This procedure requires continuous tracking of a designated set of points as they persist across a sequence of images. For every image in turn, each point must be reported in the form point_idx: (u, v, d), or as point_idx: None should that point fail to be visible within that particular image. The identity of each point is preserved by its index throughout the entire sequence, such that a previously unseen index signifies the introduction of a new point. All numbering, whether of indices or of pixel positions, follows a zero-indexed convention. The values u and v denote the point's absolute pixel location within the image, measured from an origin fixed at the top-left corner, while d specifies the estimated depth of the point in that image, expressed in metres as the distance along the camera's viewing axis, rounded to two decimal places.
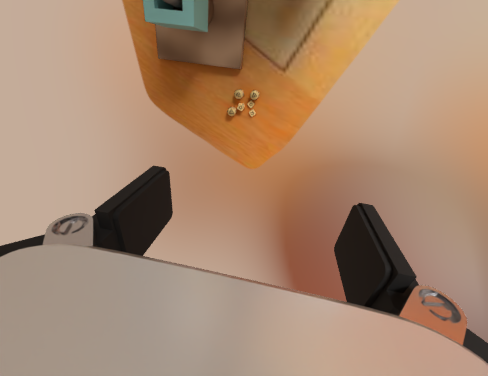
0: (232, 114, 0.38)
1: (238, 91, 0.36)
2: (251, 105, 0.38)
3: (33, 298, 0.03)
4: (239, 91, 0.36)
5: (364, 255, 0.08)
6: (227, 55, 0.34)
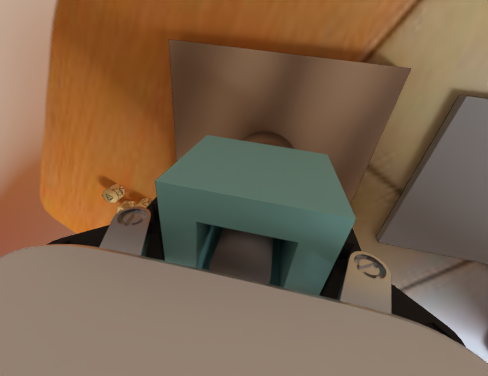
0: (106, 198, 0.21)
1: None
2: None
3: (33, 298, 0.03)
4: None
5: None
6: None
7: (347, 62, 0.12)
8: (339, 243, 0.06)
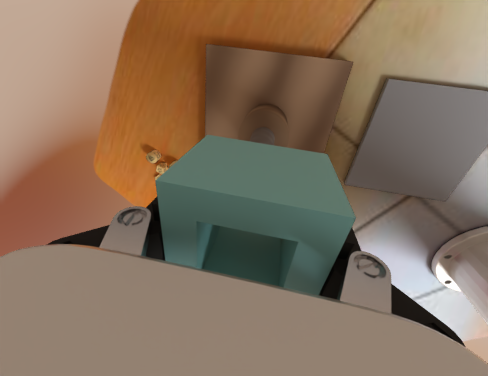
0: (148, 159, 0.29)
1: None
2: None
3: (33, 298, 0.03)
4: None
5: None
6: None
7: (316, 58, 0.20)
8: (339, 242, 0.07)
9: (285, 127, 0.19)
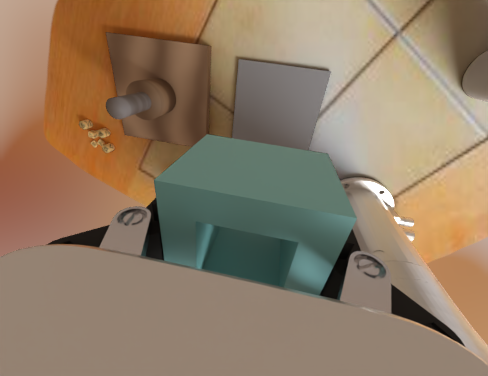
0: (81, 126, 0.36)
1: (103, 133, 0.36)
2: (99, 143, 0.39)
3: (33, 298, 0.03)
4: (103, 135, 0.36)
5: None
6: (131, 123, 0.34)
7: (182, 43, 0.27)
8: (340, 243, 0.06)
9: (155, 92, 0.27)
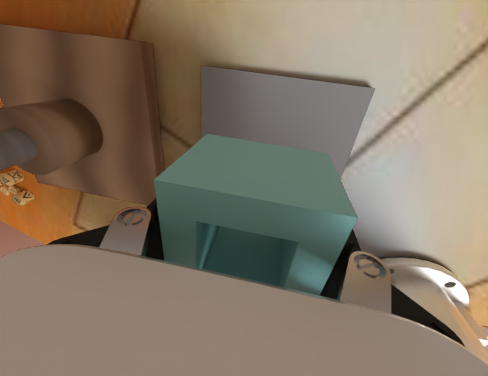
0: None
1: (8, 180, 0.24)
2: (12, 191, 0.26)
3: (33, 298, 0.04)
4: (10, 181, 0.24)
5: None
6: None
7: (95, 37, 0.15)
8: (340, 243, 0.06)
9: (38, 128, 0.14)
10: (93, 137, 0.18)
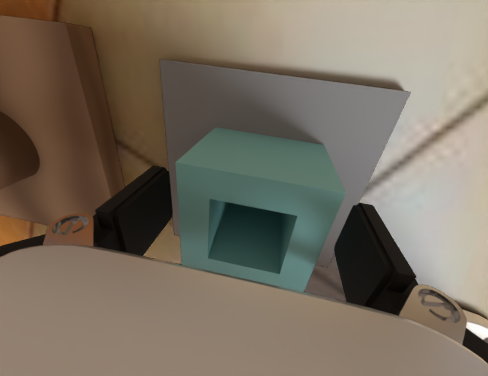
0: None
1: None
2: None
3: (33, 298, 0.04)
4: None
5: (364, 255, 0.08)
6: None
7: (1, 17, 0.10)
8: (332, 215, 0.08)
9: None
10: (21, 158, 0.13)
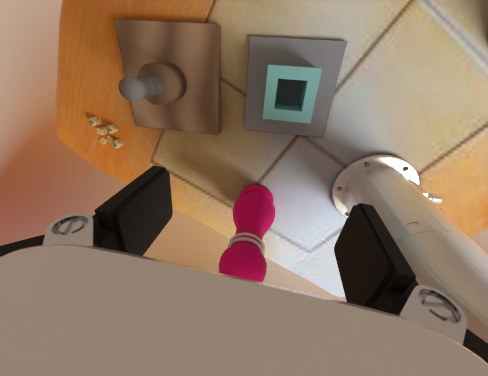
0: (89, 123, 0.37)
1: (111, 129, 0.36)
2: (108, 140, 0.39)
3: (33, 298, 0.04)
4: (112, 130, 0.37)
5: (364, 255, 0.08)
6: (142, 113, 0.34)
7: (191, 23, 0.27)
8: (318, 78, 0.24)
9: (167, 74, 0.26)
10: (183, 85, 0.30)
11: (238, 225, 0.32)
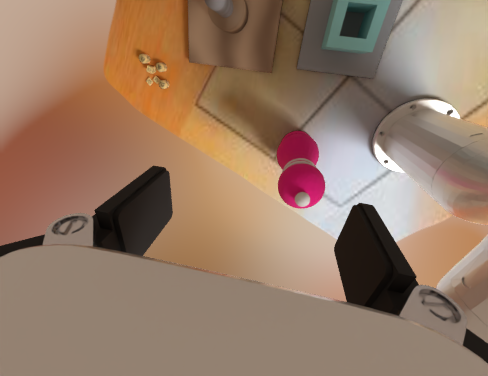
0: (140, 60, 0.37)
1: (161, 66, 0.37)
2: (155, 80, 0.40)
3: (33, 298, 0.03)
4: (162, 68, 0.38)
5: (364, 255, 0.08)
6: (198, 48, 0.35)
7: None
8: (388, 2, 0.25)
9: None
10: (247, 15, 0.31)
11: (289, 157, 0.33)
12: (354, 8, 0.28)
